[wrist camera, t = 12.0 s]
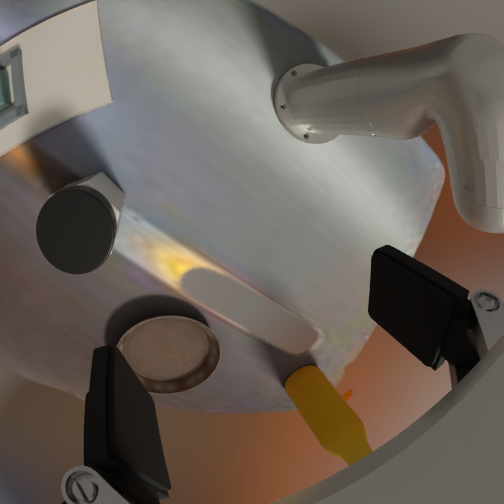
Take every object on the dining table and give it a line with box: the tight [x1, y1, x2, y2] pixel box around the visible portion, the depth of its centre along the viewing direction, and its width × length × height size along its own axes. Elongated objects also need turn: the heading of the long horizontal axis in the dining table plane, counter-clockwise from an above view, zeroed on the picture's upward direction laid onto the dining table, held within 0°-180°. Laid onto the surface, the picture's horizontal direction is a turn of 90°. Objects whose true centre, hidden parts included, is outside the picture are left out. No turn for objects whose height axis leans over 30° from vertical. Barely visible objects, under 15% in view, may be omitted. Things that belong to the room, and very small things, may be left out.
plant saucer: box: [117, 315, 221, 395], centre depth 43 cm, size 18×18×3 cm
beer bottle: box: [285, 365, 373, 466], centre depth 47 cm, size 9×9×29 cm
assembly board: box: [0, 0, 113, 156], centre depth 20 cm, size 22×16×3 cm
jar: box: [36, 172, 126, 274], centre depth 27 cm, size 9×8×12 cm
